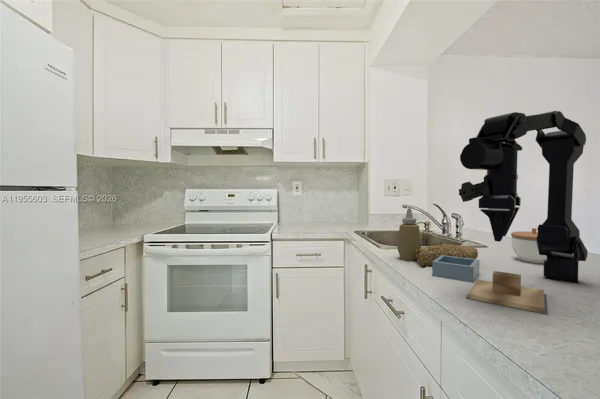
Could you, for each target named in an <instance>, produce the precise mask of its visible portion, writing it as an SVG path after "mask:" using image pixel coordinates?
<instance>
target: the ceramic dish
mask: <svg viewBox="0 0 600 399" xmlns="http://www.w3.org/2000/svg"><path fill="white" fill-rule="evenodd" d="M431 267H432V270H431V271H432V273H431V275H432V276H434V277H439V278H444V279H450V280H458V281H461V282H462V281H463V282H469V283H474V282H476V279H477V277H478V276H479V275H480V259H478V258H476V259H469V258H461V257H453V256H445V255H441V256H440V257H438V258H437V259H435V260H434V261H433V262H432V266H431Z"/></svg>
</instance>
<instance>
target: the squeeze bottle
mask: <svg viewBox="0 0 600 399" xmlns="http://www.w3.org/2000/svg"><path fill="white" fill-rule="evenodd" d="M401 221H402V222H401V224H399V227H398V228H399V229H398V239H397V252H398V255H399V258H400V259H402V260H405V261H418V259H417V257H416V256H415V254H416V250H417V249H420V248H422V244H421V243H422V242H421V234H420V226H419V224H417V218H415V217H414V215H413V211H412V208H411V207H408V208H407V210H406V215H405V217H402V220H401Z"/></svg>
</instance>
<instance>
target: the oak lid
mask: <svg viewBox="0 0 600 399" xmlns="http://www.w3.org/2000/svg"><path fill="white" fill-rule="evenodd" d="M470 290H471V291H470ZM470 290H469V292H468V294H467V295H468V299H467V300H469V299H474V300H479V301H484V302H489V303H494V304H499V305H504V306H509V307H514V308H519V309H524V310H530V311H535V312H540V313H545V305H544V294H545V292H544V289H540V288H533V287H528V286H522V274H518V273H513V272H512V273H511V272H504V271H497V270H494V271H493V272H492V281H489V280H482V279H477V280H475V283H474V284H473V286H472V287H471V289H470ZM474 300H473V301H474ZM479 301H478V302H479ZM484 302H483V303H484ZM489 303H488V304H489ZM494 304H493V305H494ZM499 305H498V306H499ZM504 306H503V307H504ZM509 307H508V308H509ZM514 308H513V309H514ZM519 309H518V310H519ZM524 310H523V311H524Z"/></svg>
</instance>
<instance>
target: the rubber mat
mask: <svg viewBox="0 0 600 399" xmlns="http://www.w3.org/2000/svg"><path fill="white" fill-rule="evenodd" d="M470 291H471V289H470V290H469V292H470ZM547 299H548V298H547V294H546V293H544V305H545V313H540V312H535V311H530V310H524V309H519V308H514V307H509V306H504V305H499V304H494V303H489V302H484V301H479V300H474V299H468V294H467V295H466V297H465V300H469V301H475V302H480V303H483V304H490V305H495V306H500V307H505V308H510V309H515V310H519V311H520V310H521V311H525V312H530V313H535V314H541V315H544V316H549V310H548V300H547Z"/></svg>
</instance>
